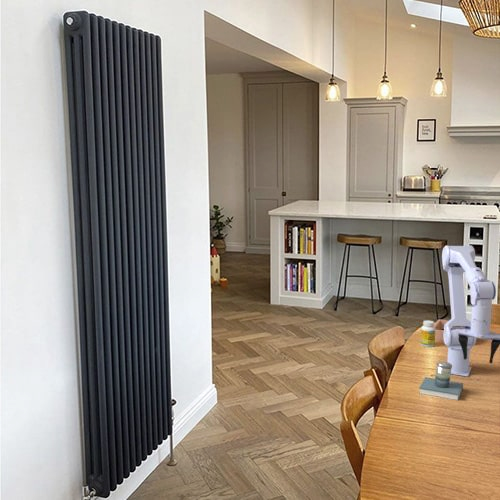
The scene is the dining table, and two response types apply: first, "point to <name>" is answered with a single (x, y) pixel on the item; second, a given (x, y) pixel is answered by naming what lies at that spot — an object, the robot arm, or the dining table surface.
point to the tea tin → (443, 374)
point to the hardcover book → (441, 389)
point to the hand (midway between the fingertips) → (478, 360)
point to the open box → (440, 325)
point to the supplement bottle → (428, 334)
